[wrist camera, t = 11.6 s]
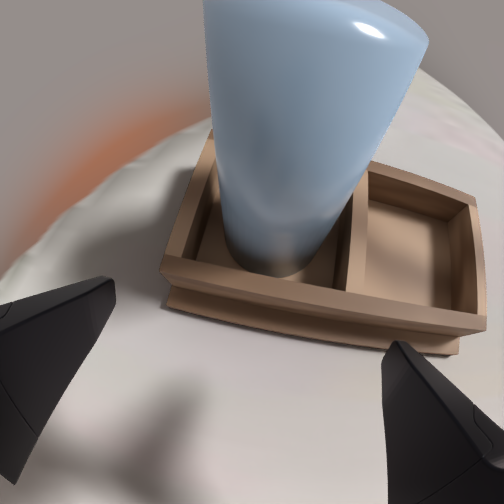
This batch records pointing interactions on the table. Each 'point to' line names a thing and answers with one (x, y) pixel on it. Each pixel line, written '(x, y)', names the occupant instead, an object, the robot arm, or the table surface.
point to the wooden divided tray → (344, 266)
